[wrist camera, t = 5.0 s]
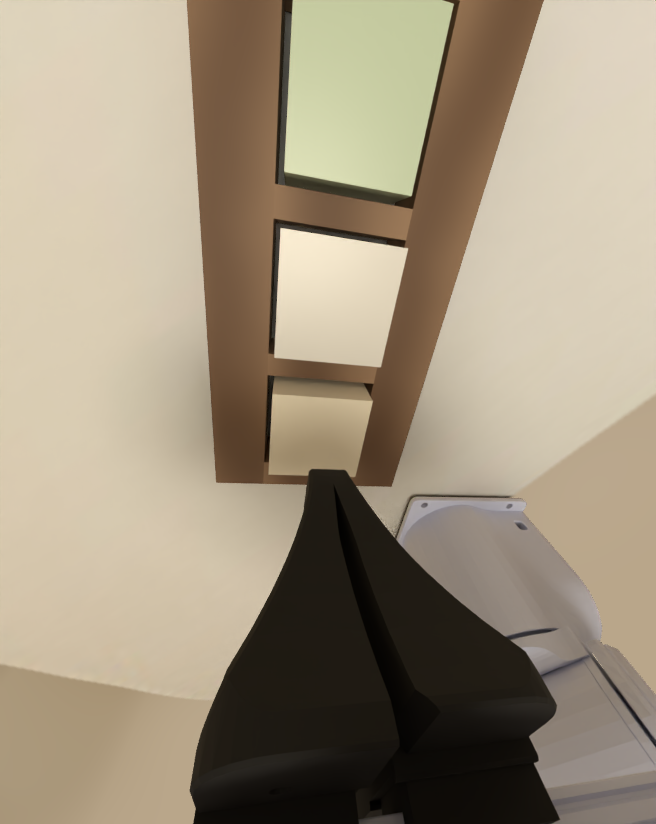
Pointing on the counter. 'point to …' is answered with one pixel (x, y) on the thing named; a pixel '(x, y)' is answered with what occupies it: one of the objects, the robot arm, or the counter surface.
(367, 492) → the counter surface
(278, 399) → the cream key
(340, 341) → the ivory key
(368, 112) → the sage key
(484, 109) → the keypad board
